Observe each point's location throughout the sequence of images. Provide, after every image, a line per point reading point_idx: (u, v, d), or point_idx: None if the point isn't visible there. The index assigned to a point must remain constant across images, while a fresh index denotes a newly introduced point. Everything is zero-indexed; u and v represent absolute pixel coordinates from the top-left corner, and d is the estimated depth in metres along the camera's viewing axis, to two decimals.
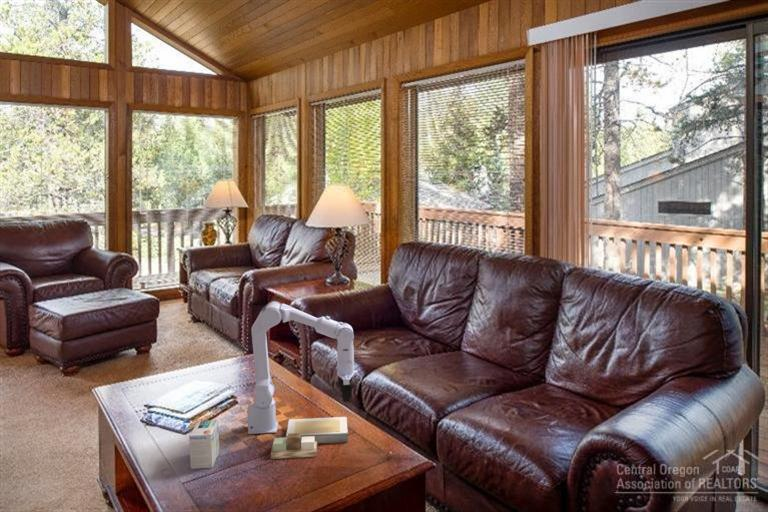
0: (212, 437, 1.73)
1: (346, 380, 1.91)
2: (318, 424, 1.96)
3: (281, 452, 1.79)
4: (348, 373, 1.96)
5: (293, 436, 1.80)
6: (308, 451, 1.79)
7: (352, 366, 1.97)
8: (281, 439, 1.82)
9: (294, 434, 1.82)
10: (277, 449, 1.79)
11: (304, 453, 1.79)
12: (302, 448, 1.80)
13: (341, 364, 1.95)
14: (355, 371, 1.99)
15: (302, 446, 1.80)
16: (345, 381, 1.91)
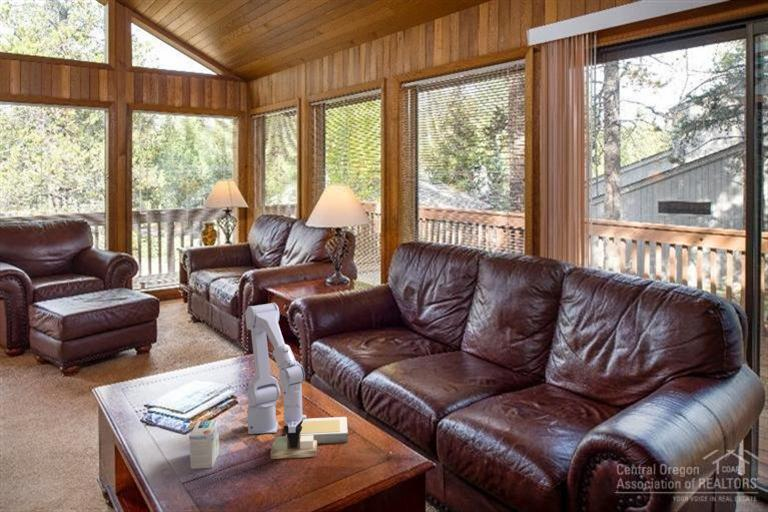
0: (212, 437, 1.73)
1: (291, 428, 1.73)
2: (318, 424, 1.96)
3: (281, 451, 1.79)
4: (295, 419, 1.78)
5: None
6: (308, 450, 1.79)
7: (300, 411, 1.79)
8: (282, 438, 1.82)
9: None
10: (278, 448, 1.79)
11: (304, 452, 1.79)
12: (301, 447, 1.80)
13: (287, 409, 1.77)
14: (304, 416, 1.81)
15: (301, 445, 1.80)
16: (290, 429, 1.73)
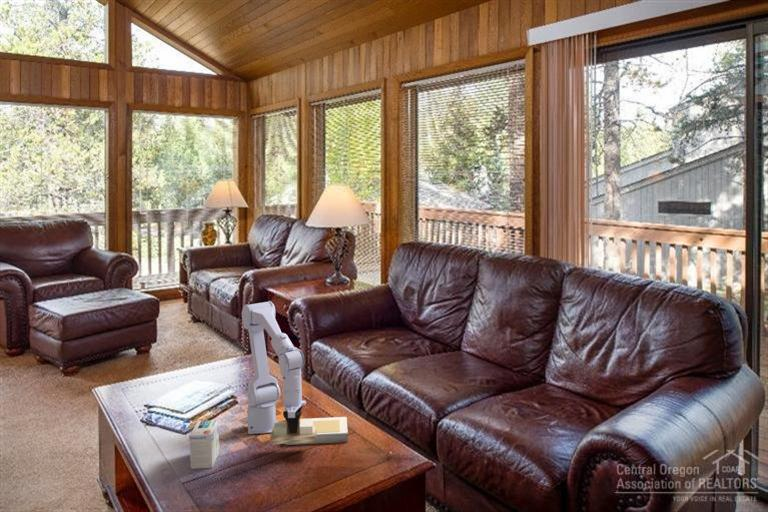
0: (212, 437, 1.73)
1: (291, 413, 1.73)
2: (318, 424, 1.96)
3: (280, 436, 1.78)
4: (294, 404, 1.77)
5: None
6: (307, 435, 1.79)
7: (299, 396, 1.78)
8: (281, 424, 1.81)
9: None
10: (277, 433, 1.79)
11: (303, 437, 1.78)
12: (300, 432, 1.79)
13: (287, 394, 1.77)
14: (303, 401, 1.80)
15: (300, 430, 1.79)
16: (290, 414, 1.73)
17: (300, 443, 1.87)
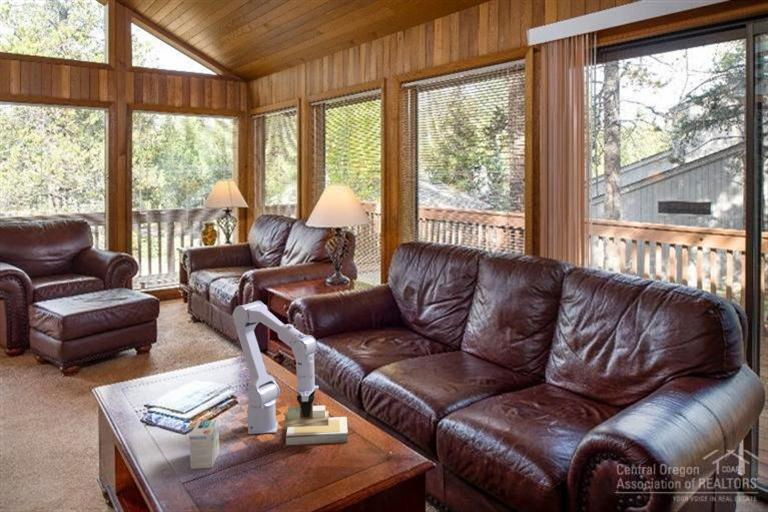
0: (212, 437, 1.73)
1: (304, 396, 1.79)
2: None
3: (294, 420, 1.85)
4: (308, 389, 1.84)
5: None
6: (320, 419, 1.85)
7: (312, 381, 1.84)
8: (295, 408, 1.88)
9: None
10: (291, 417, 1.85)
11: (316, 421, 1.85)
12: (313, 416, 1.86)
13: (300, 379, 1.83)
14: (316, 386, 1.86)
15: (313, 414, 1.86)
16: (303, 398, 1.79)
17: (300, 443, 1.87)
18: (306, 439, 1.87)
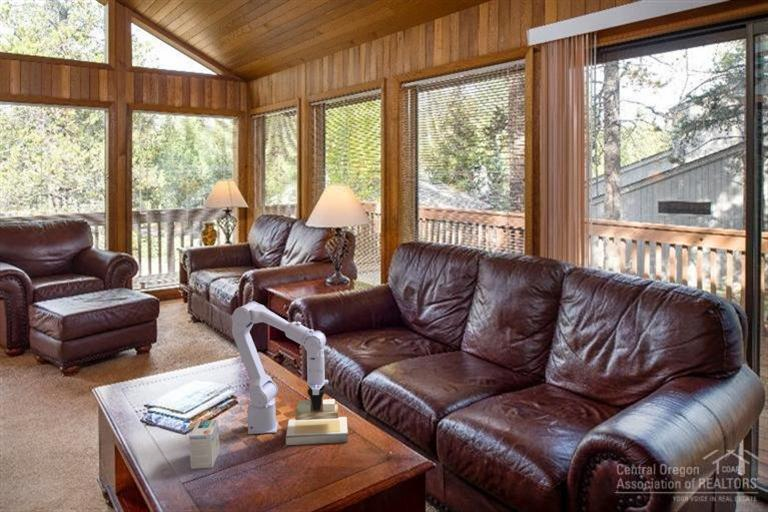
0: (212, 437, 1.73)
1: (315, 390, 1.85)
2: (318, 424, 1.96)
3: (305, 413, 1.90)
4: (318, 383, 1.89)
5: None
6: (330, 412, 1.91)
7: (322, 375, 1.90)
8: (305, 401, 1.93)
9: None
10: (302, 410, 1.91)
11: (326, 414, 1.90)
12: (323, 409, 1.91)
13: (311, 373, 1.89)
14: (326, 380, 1.92)
15: (323, 408, 1.91)
16: (314, 391, 1.85)
17: (300, 443, 1.87)
18: (306, 439, 1.87)
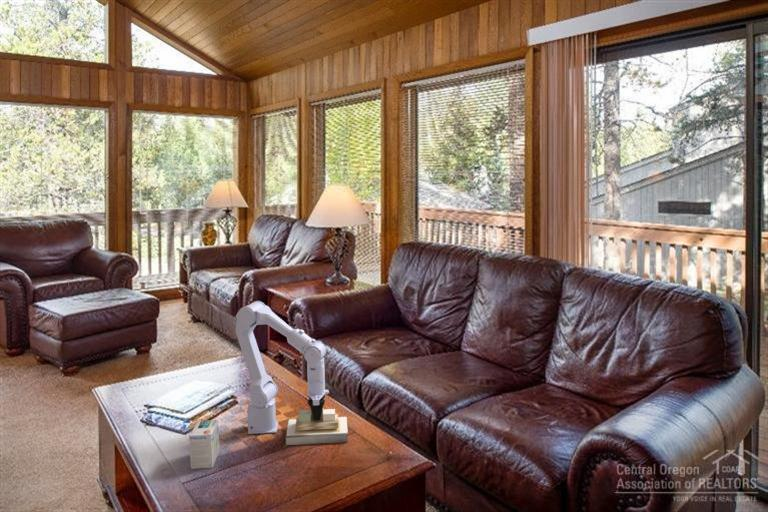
0: (212, 437, 1.73)
1: (316, 400, 1.85)
2: None
3: (305, 423, 1.91)
4: (318, 393, 1.90)
5: None
6: (330, 422, 1.91)
7: (323, 385, 1.91)
8: (305, 411, 1.94)
9: None
10: (302, 420, 1.91)
11: (327, 424, 1.91)
12: (324, 419, 1.92)
13: (311, 384, 1.89)
14: (326, 390, 1.93)
15: (324, 418, 1.92)
16: (315, 401, 1.85)
17: (300, 443, 1.87)
18: (306, 439, 1.87)
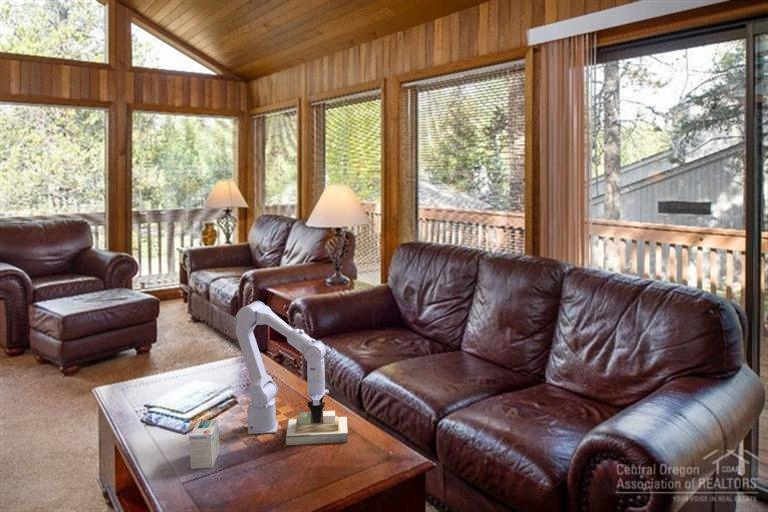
0: (212, 437, 1.73)
1: (316, 400, 1.85)
2: None
3: (305, 425, 1.91)
4: (318, 393, 1.90)
5: None
6: (330, 424, 1.91)
7: (323, 385, 1.91)
8: (305, 413, 1.94)
9: None
10: (302, 422, 1.91)
11: (327, 426, 1.91)
12: (324, 421, 1.92)
13: (311, 383, 1.89)
14: (326, 390, 1.93)
15: (324, 419, 1.92)
16: (315, 401, 1.85)
17: (300, 443, 1.87)
18: (306, 439, 1.87)
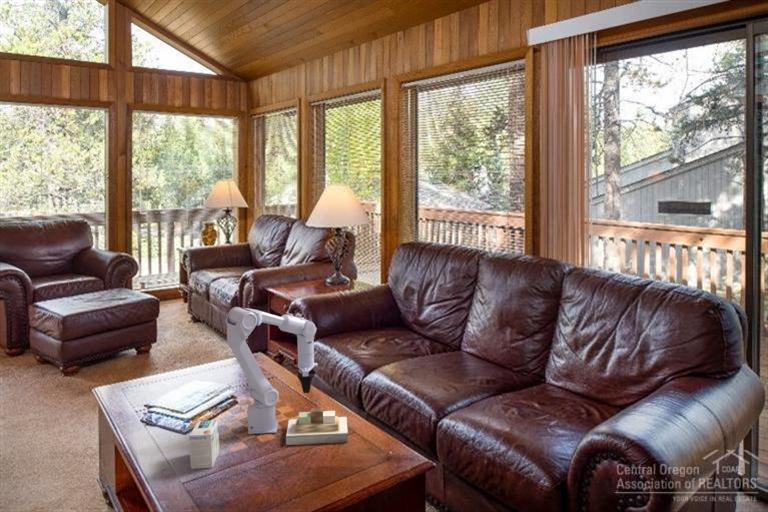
0: (212, 437, 1.73)
1: (305, 372, 2.00)
2: None
3: (305, 425, 1.91)
4: (308, 365, 2.05)
5: (316, 410, 1.92)
6: (330, 424, 1.91)
7: (312, 359, 2.05)
8: (305, 413, 1.94)
9: (317, 408, 1.94)
10: (302, 422, 1.91)
11: (327, 426, 1.91)
12: (324, 421, 1.92)
13: (301, 357, 2.04)
14: (315, 363, 2.07)
15: (324, 419, 1.92)
16: (304, 373, 2.00)
17: (300, 443, 1.87)
18: (306, 439, 1.87)
